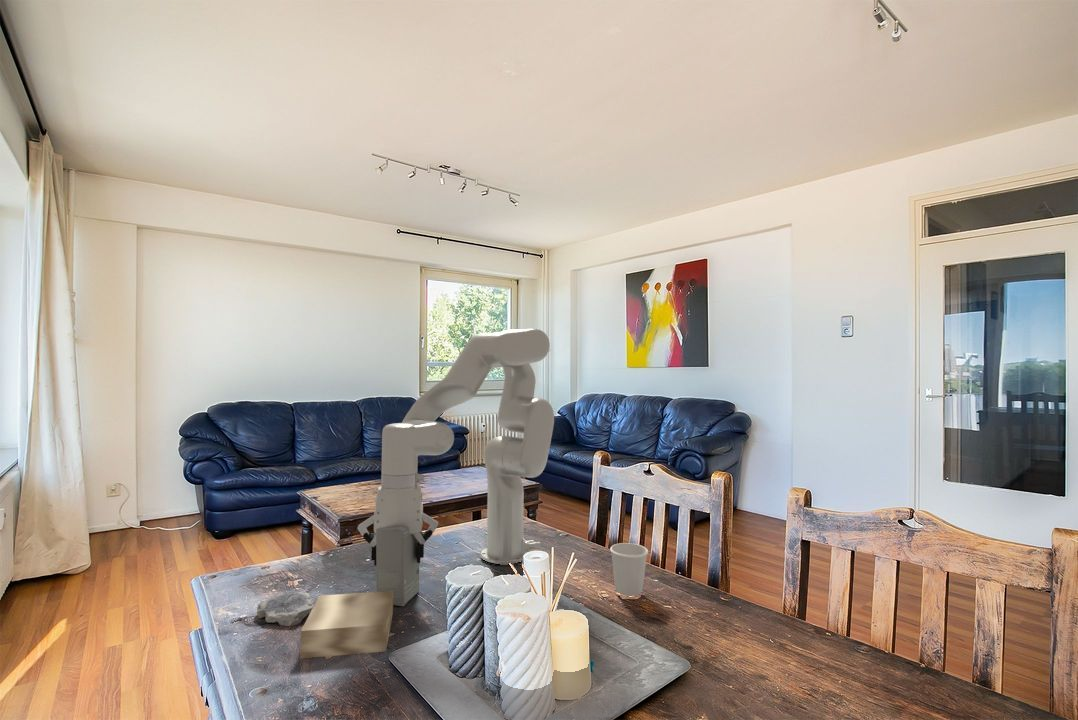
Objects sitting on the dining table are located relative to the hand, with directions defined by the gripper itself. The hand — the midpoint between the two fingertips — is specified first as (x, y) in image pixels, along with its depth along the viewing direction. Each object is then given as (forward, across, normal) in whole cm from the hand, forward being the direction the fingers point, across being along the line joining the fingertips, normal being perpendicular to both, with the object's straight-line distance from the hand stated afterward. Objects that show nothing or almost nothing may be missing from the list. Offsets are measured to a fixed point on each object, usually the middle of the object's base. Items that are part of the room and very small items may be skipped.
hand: (397, 561), depth 112 cm
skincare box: (+8, 0, 0) cm, 8 cm away
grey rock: (+8, +21, +4) cm, 23 cm away
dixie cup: (+8, -50, +7) cm, 51 cm away
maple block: (+8, +7, +14) cm, 18 cm away
